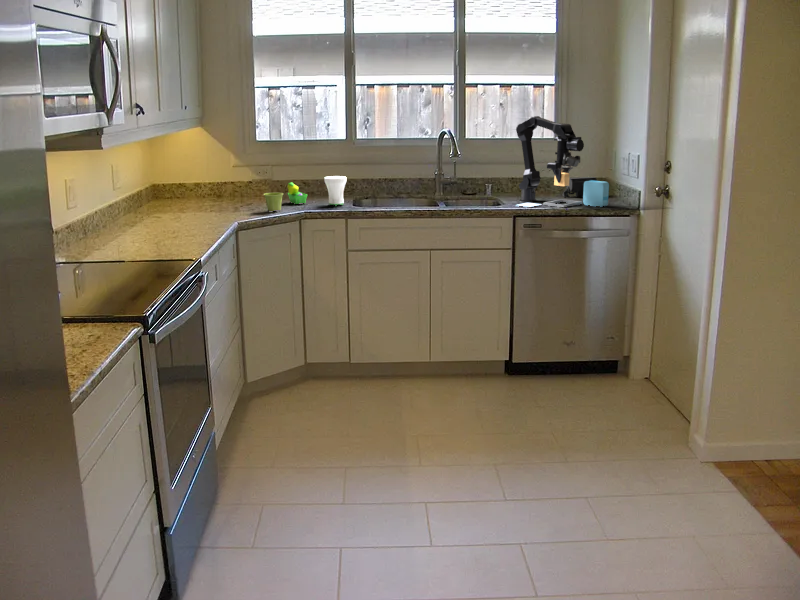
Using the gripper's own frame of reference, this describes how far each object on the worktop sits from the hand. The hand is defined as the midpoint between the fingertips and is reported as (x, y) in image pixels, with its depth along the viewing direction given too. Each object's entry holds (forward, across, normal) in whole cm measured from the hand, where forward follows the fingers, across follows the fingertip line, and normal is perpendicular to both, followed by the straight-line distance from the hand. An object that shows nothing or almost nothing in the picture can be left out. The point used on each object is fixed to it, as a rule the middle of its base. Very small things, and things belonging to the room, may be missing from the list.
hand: (561, 182), depth 383 cm
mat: (+11, -12, +10) cm, 20 cm away
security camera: (+12, +32, +10) cm, 35 cm away
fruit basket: (+12, -84, +106) cm, 135 cm away
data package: (+12, +10, -14) cm, 20 cm away
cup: (+12, -74, +86) cm, 114 cm away
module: (+2, 0, 0) cm, 2 cm away
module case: (+11, +1, -1) cm, 11 cm away
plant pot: (+12, -107, +93) cm, 142 cm away
